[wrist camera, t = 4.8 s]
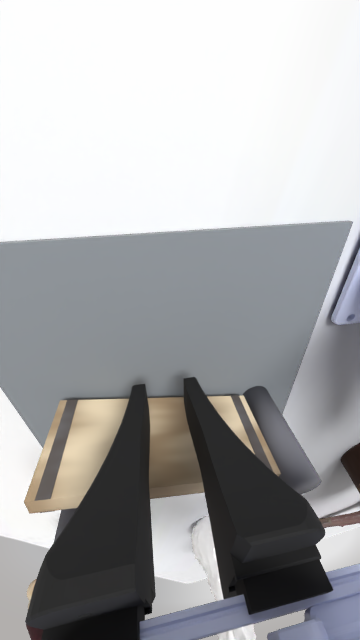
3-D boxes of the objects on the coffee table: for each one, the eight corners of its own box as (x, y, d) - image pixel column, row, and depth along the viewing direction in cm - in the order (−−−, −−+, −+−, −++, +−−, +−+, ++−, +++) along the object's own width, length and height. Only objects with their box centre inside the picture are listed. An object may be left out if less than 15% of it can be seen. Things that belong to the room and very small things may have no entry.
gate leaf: (243, 395, 16) (281, 472, 12) (238, 406, 16) (272, 484, 12) (59, 399, 13) (23, 501, 9) (62, 413, 14) (29, 514, 10)
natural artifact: (408, 467, 37) (432, 492, 36) (294, 524, 43) (311, 548, 41) (421, 477, 34) (447, 506, 32) (295, 538, 39) (313, 566, 38)
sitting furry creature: (232, 527, 36) (268, 663, 26) (181, 534, 34) (198, 685, 24) (255, 502, 31) (310, 657, 21) (197, 509, 29) (227, 684, 19)
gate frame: (348, 220, 11) (598, 272, 5) (275, 423, 20) (332, 526, 14) (-89, 247, 9) (-574, 396, 3) (55, 460, 18) (14, 599, 12)
